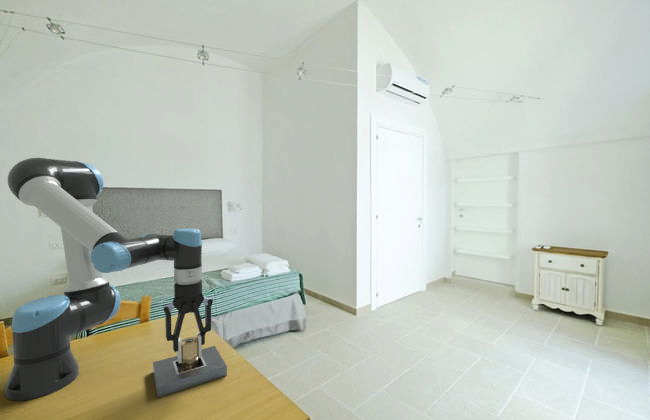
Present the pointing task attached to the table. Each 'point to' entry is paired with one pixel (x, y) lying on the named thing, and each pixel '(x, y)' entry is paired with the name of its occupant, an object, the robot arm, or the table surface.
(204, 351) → the plate
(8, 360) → the table surface
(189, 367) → the brass domed cylinder
